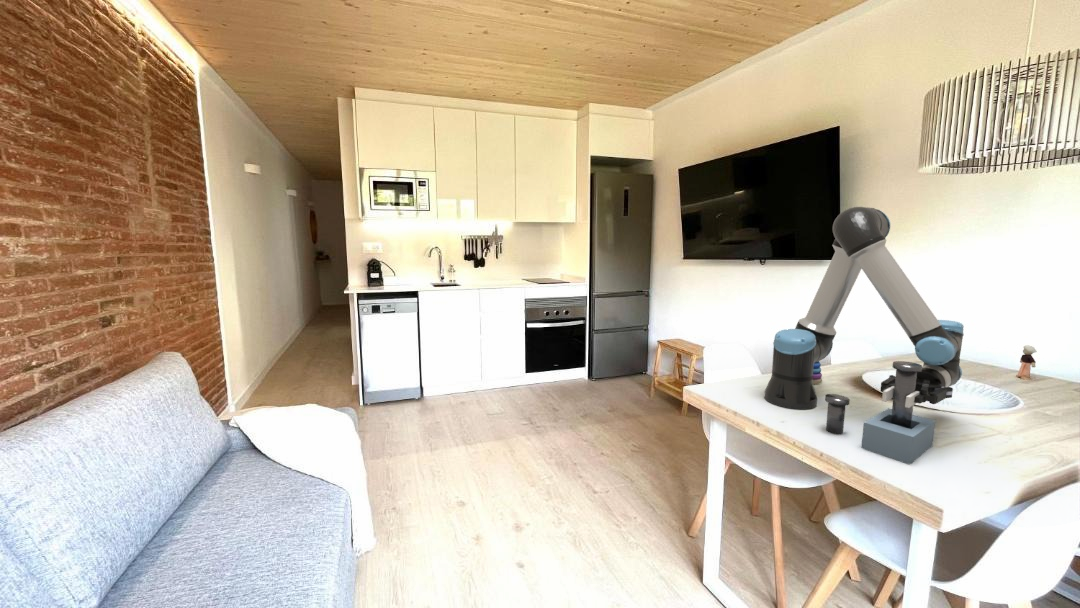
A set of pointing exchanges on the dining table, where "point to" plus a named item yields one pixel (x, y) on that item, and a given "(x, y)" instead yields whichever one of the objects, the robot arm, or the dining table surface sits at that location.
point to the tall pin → (903, 392)
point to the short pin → (836, 413)
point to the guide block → (898, 437)
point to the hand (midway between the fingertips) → (895, 399)
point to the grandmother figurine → (1026, 362)
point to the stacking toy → (817, 373)
